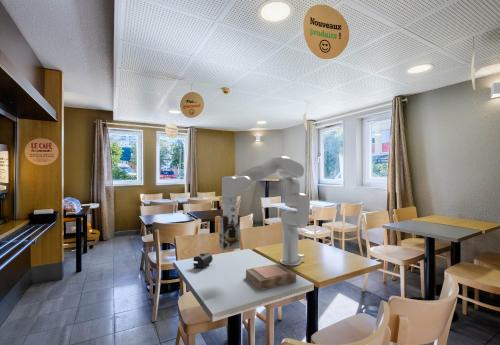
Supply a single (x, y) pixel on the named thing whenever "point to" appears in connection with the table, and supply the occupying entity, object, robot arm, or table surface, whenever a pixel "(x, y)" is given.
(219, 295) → the table surface
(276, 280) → the stand
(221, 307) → the table surface
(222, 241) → the coffee box
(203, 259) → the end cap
